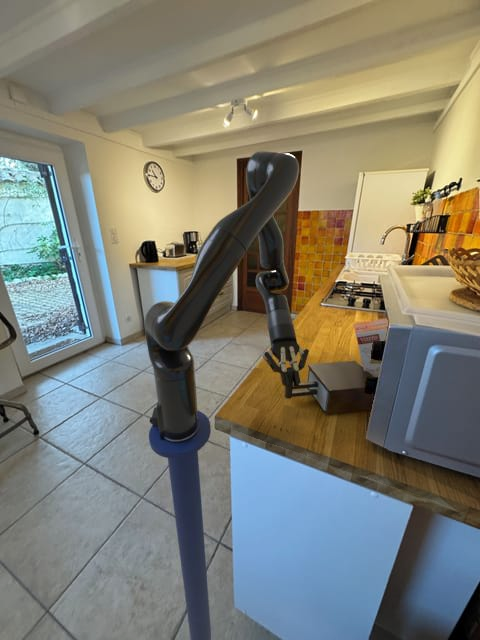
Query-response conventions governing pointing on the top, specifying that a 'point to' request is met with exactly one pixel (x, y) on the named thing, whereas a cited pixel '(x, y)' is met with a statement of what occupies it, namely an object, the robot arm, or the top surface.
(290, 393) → the drawer
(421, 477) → the top surface
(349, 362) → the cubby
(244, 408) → the top surface
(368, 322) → the cracker box
